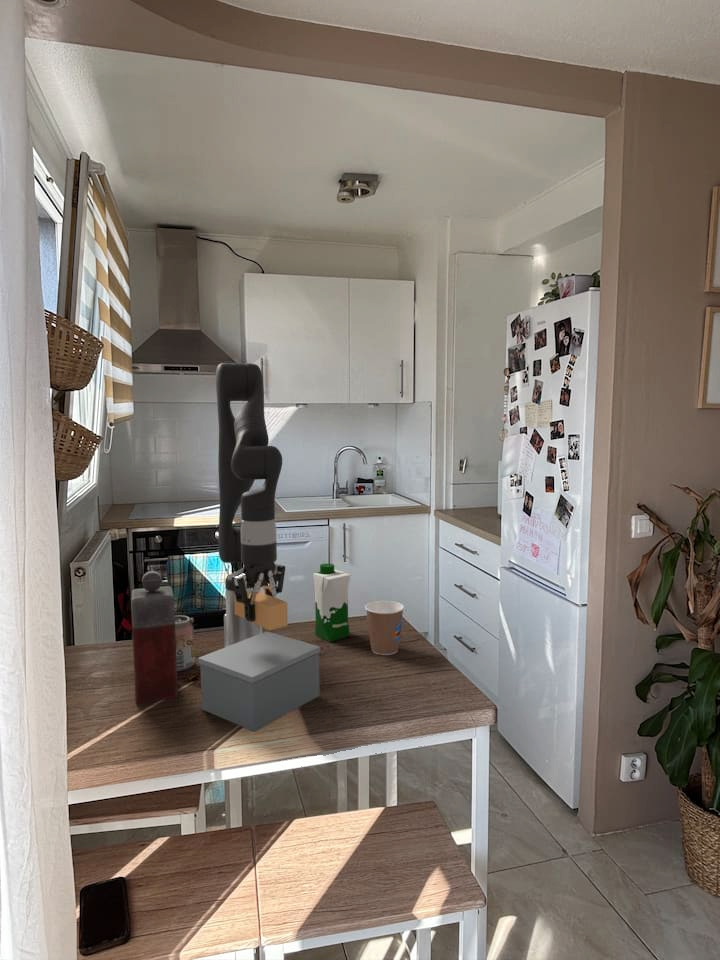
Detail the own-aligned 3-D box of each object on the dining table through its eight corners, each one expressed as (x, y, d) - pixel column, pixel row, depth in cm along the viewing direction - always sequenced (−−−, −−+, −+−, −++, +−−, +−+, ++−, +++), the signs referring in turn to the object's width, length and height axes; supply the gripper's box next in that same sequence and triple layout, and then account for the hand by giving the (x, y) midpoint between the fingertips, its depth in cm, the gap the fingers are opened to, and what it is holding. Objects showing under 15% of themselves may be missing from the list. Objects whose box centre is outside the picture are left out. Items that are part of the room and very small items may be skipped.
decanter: (175, 677, 156) (171, 563, 153) (177, 697, 145) (173, 574, 142) (136, 682, 153) (130, 566, 150) (135, 703, 143) (129, 578, 139)
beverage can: (159, 660, 166) (157, 615, 165) (193, 656, 169) (191, 611, 168) (161, 674, 158) (159, 626, 156) (197, 669, 161) (195, 622, 159)
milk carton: (335, 628, 190) (334, 561, 187) (354, 636, 183) (354, 567, 180) (310, 635, 184) (309, 566, 182) (329, 644, 177) (328, 572, 175)
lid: (198, 663, 138) (197, 657, 138) (266, 636, 154) (266, 631, 154) (252, 683, 128) (252, 677, 128) (319, 651, 144) (319, 646, 144)
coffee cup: (405, 657, 167) (405, 612, 166) (365, 657, 168) (364, 612, 166) (403, 643, 178) (403, 600, 176) (365, 643, 178) (365, 600, 176)
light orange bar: (234, 614, 144) (234, 592, 144) (252, 609, 147) (251, 588, 147) (269, 630, 134) (269, 606, 133) (287, 625, 137) (287, 602, 136)
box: (201, 709, 140) (200, 664, 138) (268, 678, 155) (267, 637, 154) (253, 731, 130) (252, 683, 129) (319, 695, 146) (318, 652, 145)
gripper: (245, 548, 131) (247, 630, 133) (294, 536, 142) (295, 612, 144) (220, 543, 135) (223, 622, 137) (270, 532, 146) (271, 605, 148)
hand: (260, 616), depth 141 cm, fingers closed on light orange bar, 5 cm apart
